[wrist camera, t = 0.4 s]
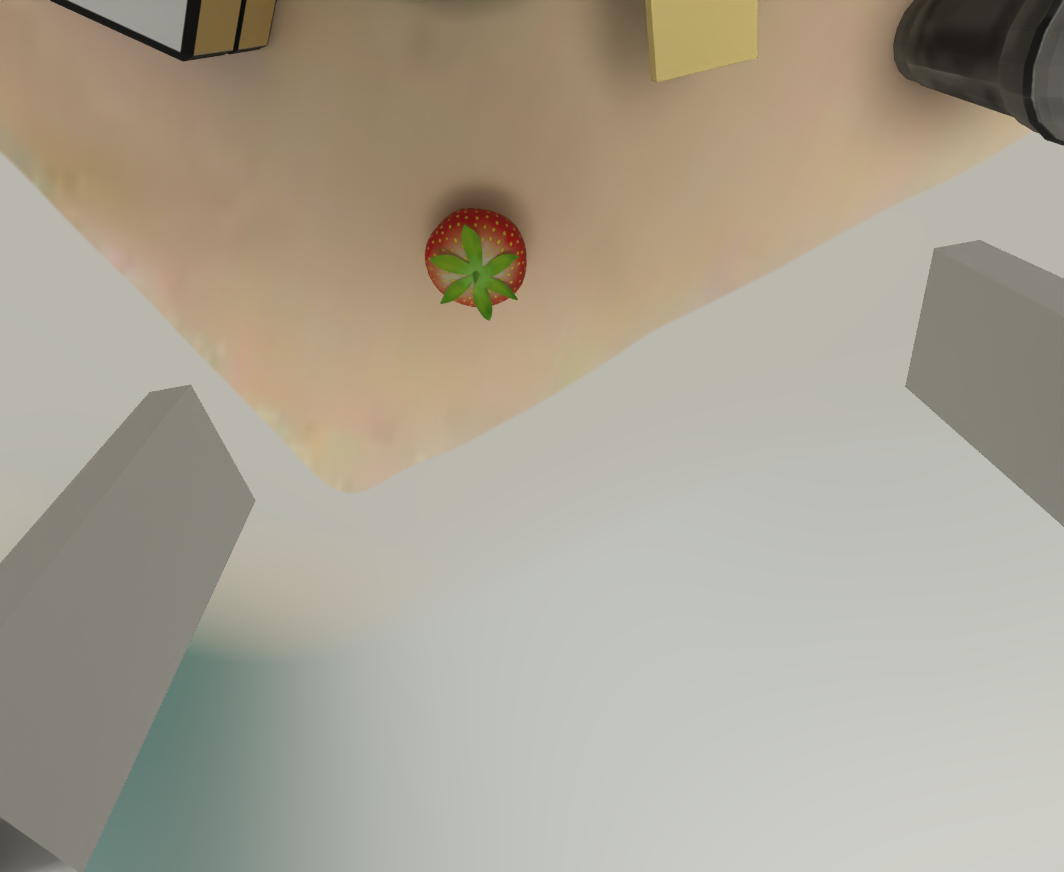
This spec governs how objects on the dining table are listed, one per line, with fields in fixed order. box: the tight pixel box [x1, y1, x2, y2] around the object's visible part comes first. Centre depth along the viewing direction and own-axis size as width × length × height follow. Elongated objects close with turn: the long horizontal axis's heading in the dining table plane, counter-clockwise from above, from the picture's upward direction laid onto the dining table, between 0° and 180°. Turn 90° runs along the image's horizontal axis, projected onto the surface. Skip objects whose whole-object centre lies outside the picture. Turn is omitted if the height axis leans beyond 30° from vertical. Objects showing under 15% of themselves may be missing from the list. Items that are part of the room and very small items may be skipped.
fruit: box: [425, 208, 526, 321], centre depth 33 cm, size 5×5×8 cm
